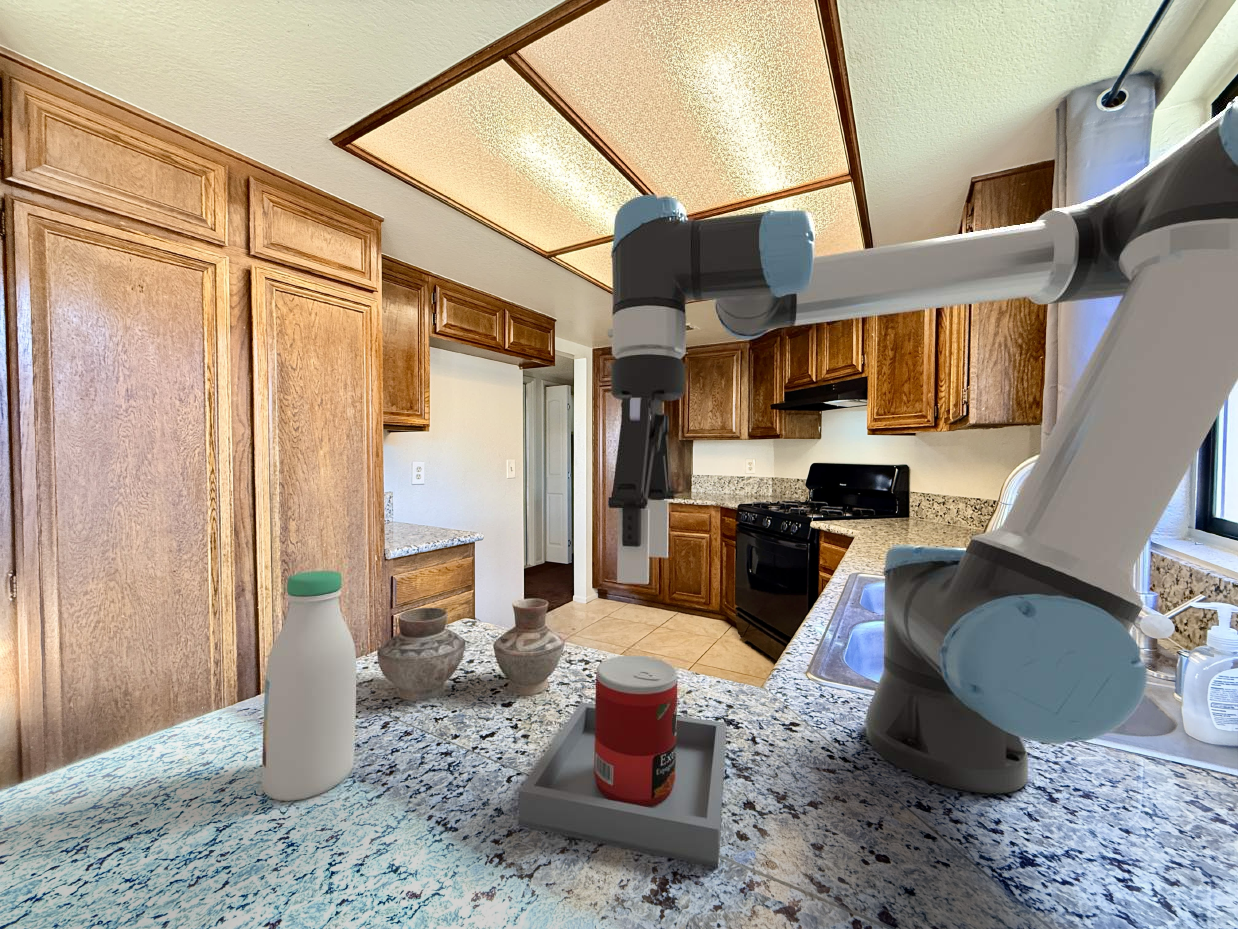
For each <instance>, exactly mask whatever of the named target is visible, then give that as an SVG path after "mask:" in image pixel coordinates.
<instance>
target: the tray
mask: <svg viewBox="0 0 1238 929" xmlns="http://www.w3.org/2000/svg"><path fill="white" fill-rule="evenodd" d="M726 736H727V722H723V721H717V720H710V719H709V720H708V719H703V718H695V717H688V716H681V715H677V729H676V768H675V783H674V786H673V789H672V791H671V793H670V795H669V796H668V797H667V798H666V799H665V800H663V801H662V802H660V803H657V804H655V805H652V806H647V807H644V806H638V805H633V804H628V803H623V802H617V801H612V800H610V799H608V798H607V797H605V796H604V795H603V794H602V793H601V792H600V790H599V789H598V787H597V783H596V780H595V776H594V754H595V703H591V702H590V703H589V702H583V701H580V703H579V704H578V706H577V707H576V709H575V710H574V711H573V713H572V714H571V716H569V719H568V720H567V721H566V723H565V724H564V726H563V727H562V729H560V731H559V733H558V734H557V735H556V737H555V738H554V739H553V741H552V743H551V744H550V746H549V747H548V748H547V750H546V751H545V753H544V754H543V755H542V757H541V758H540V760H539V761H538V763H537V764H536V766H535V767H534V769H533V770H532V771H531V772H530V773H529V776H528V777H527V778H526V780H525V781H524V782H523V784H522V785H521V787H520V788H519V790H518V796H517V797H518V803H517V804H518V805H517V807H518V808H517V826H518V827H522V828H526V829H532V830H535V831H540V832H541V831H542V832H546V833H550V834H555V835H559V836H565V837H570V838H575V839H579V840H584V841H589V842H594V843H597V844H603V845H606V846H612V847H616V848H621V849H627V850H631V851H634V852H639V853H644V854H645V853H646V854H650V855H655V856H659V857H663V858H669V859H674V860H677V861H681V862H683V861H684V862H688V863H693V864H696V865H701V866H706V867H710V868H715V869H719V862H720V861H719V860H720V859H719V858H720V842H721V830H722V829H721V827H722V814H723V813H722V811H723V798H724V797H723V796H724V782H725V781H724V780H725V779H724V778H725V764H726V762H725V761H726V747H727V746H726V742H727V740H726V739H727V737H726ZM723 781H724V782H723ZM722 797H723V798H722ZM721 813H722V814H721ZM720 829H721V830H720Z"/></svg>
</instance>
